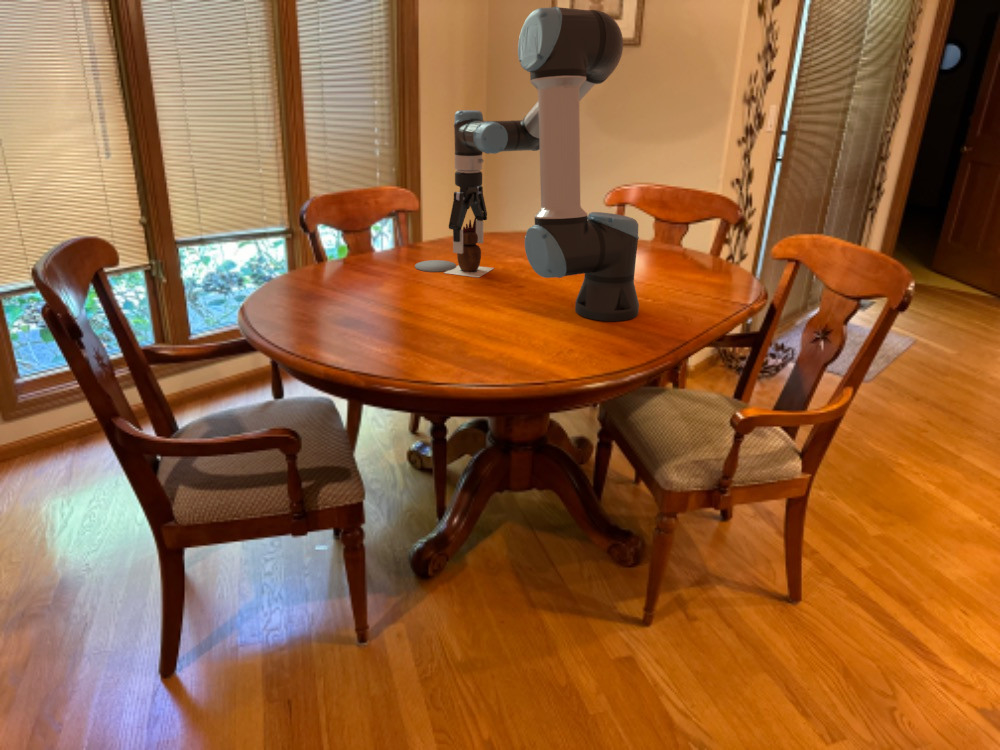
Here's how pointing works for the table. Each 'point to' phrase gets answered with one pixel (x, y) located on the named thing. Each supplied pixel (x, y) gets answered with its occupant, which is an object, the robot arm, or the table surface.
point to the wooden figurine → (469, 249)
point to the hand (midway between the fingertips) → (468, 247)
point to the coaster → (435, 266)
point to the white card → (477, 273)
